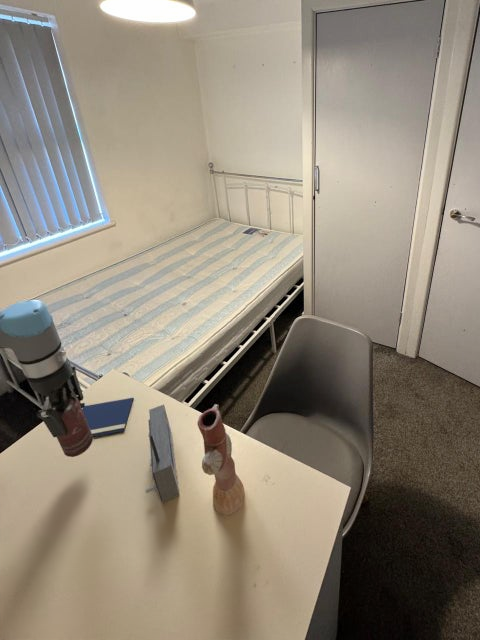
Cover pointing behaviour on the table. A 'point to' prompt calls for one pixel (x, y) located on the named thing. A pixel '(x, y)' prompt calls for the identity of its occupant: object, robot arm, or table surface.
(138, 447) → the table surface
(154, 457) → the electronic device
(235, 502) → the vase
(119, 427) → the book
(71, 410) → the can
